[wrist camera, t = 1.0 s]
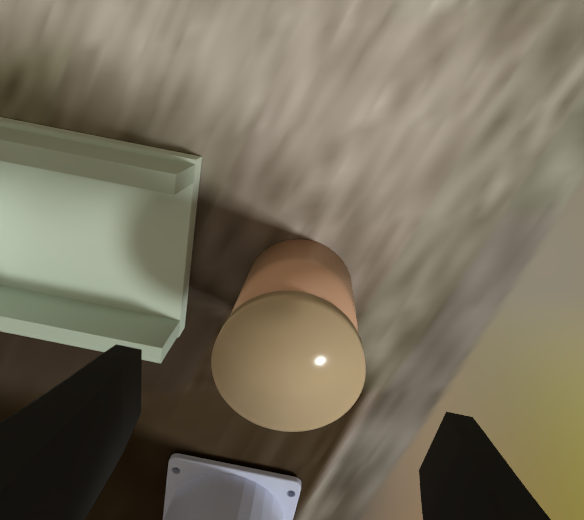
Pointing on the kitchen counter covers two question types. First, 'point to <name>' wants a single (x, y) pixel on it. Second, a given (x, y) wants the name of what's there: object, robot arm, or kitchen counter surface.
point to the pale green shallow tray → (94, 238)
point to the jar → (292, 340)
